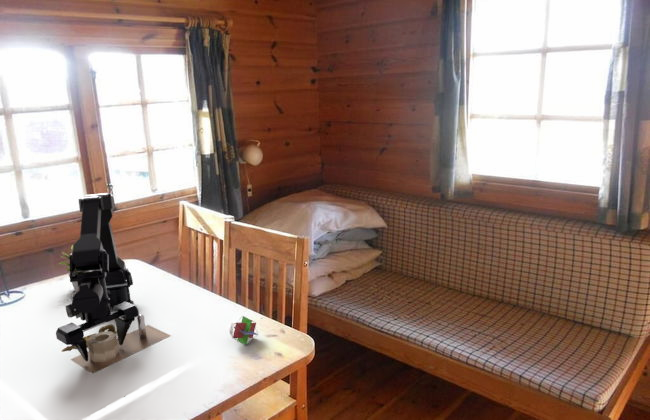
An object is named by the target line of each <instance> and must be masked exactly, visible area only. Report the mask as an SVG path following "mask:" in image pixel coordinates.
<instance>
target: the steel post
mask: <svg viewBox="0 0 650 420" xmlns="http://www.w3.org/2000/svg"><path fill="white" fill-rule="evenodd" d="M136 321H137V329H139V336H140V339H145V338H146V337H147V335H146V328H145V326H146V322H145V315H144V314H142V313H139V315H138V316H137V317H136Z"/></svg>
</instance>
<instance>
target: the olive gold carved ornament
mask: <svg viewBox="0 0 650 420" xmlns="http://www.w3.org/2000/svg"><path fill="white" fill-rule="evenodd" d="M108 331H111V332H113V333H115V334H116V335H117V330H116V327H115V326H114V324H107V325H105V326H101V327H100V328H99V330H98V332H97V333H99V332H108ZM95 334H96V333H93V334H89V335H86V336H83V338H84V339H86V345H87V349H88V344H87V341H88V339H89V338H90V336H92V335H95ZM72 350H78V349H77V348H76V347H75V346H72V345H66V347H64V348H63V349H62V350H61V352H66V351H72Z"/></svg>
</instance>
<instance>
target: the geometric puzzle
mask: <svg viewBox="0 0 650 420" xmlns="http://www.w3.org/2000/svg"><path fill="white" fill-rule="evenodd" d="M240 320H241V322H239V321H240ZM256 325H257V322H255V321H253V320H252V319H249V318H248V317H246V316H244V315H242V317H240V318H239V319H238V320H237V322H233V323H231V324H230V328H229V334H230V336H231V338H232V339H234V340H235V341H237V342H239V343H242V344H243V345H244V346H245V347H246V346H248V345H249V343H251V342H252V339H254V335H255V337H257V336H259V333H258V330H259V329H256V328H257V326H256ZM255 330H256V332H255Z"/></svg>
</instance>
